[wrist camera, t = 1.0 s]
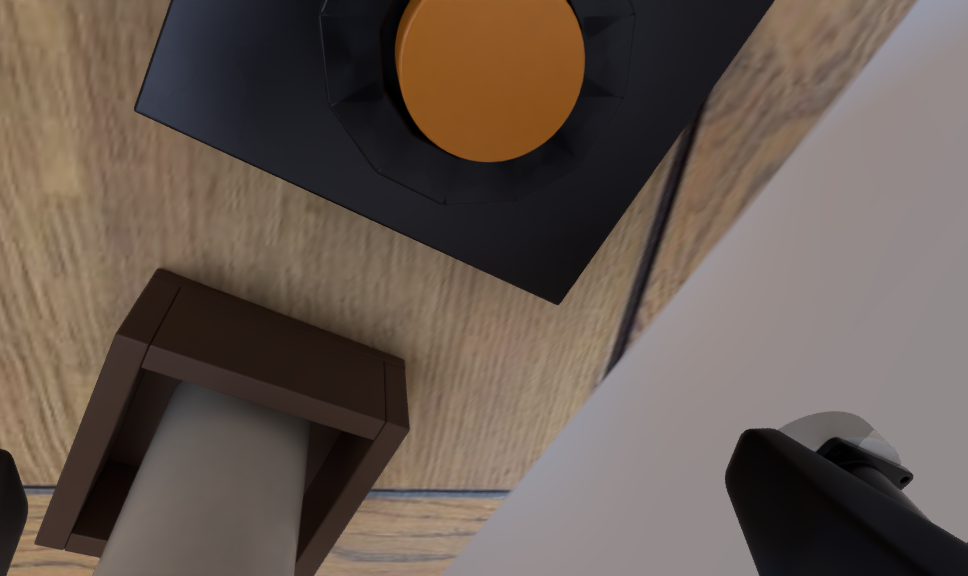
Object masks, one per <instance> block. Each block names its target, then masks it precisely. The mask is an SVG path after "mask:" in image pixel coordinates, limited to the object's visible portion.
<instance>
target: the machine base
mask: <svg viewBox="0 0 968 576" xmlns="http://www.w3.org/2000/svg"><path fill="white" fill-rule="evenodd" d="M409 1H410V0H171V2H170V4H169V7H168V10H167V13H166V16H165V19H164V22H163V25H162V28H161V31H160V34H159V36H158V39H157V42H156V45H155V48H154V51H153V54H152V57H151V60H150V63H149V66H148V68H147V71H146V74H145V77H144V80H143V83H142V86H141V89H140V92H139V95H138V98H137V100H136V103H135V106H134V111H135V112H137V113H139V114H141V115H143V116H146V117H148V118H150V119H152V120H154V121H156V122H159V123H161V124H163V125H165V126H167V127H170V128H172V129H174V130H176V131H178V132H180V133H183V134H185V135H187V136H189V137H191V138H194V139H196V140H198V141H200V142H202V143H204V144H207V145H209V146H211V147H213V148H215V149H217V150H220V151H222V152H224V153H226V154H228V155H231V156H233V157H235V158H237V159H239V160H241V161H244V162H246V163H248V164H250V165H252V166H255V167H257V168H259V169H261V170H263V171H265V172H268V173H270V174H272V175H274V176H276V177H279V178H281V179H283V180H285V181H287V182H289V183H292V184H294V185H296V186H298V187H300V188H303V189H305V190H307V191H309V192H311V193H313V194H316V195H318V196H320V197H322V198H324V199H327V200H329V201H331V202H333V203H335V204H337V205H340V206H342V207H344V208H346V209H348V210H351V211H353V212H355V213H357V214H359V215H361V216H364V217H366V218H368V219H370V220H372V221H375V222H377V223H379V224H381V225H383V226H385V227H388V228H390V229H392V230H394V231H396V232H399V233H401V234H403V235H405V236H407V237H409V238H412V239H414V240H416V241H418V242H420V243H423V244H425V245H427V246H429V247H431V248H433V249H436V250H438V251H440V252H442V253H444V254H447V255H449V256H451V257H453V258H455V259H457V260H460V261H462V262H464V263H466V264H468V265H471V266H473V267H475V268H477V269H479V270H481V271H484V272H486V273H488V274H490V275H492V276H495V277H497V278H499V279H501V280H503V281H505V282H508V283H510V284H512V285H514V286H516V287H519V288H521V289H523V290H525V291H527V292H529V293H532V294H534V295H536V296H538V297H540V298H543V299H545V300H547V301H549V302H551V303H553V304H556V305H559V304H560V303H561V302H562V300H563V299H564V297H565V296H566V294H567V293H568V292H569V290H570V289H571V287H572V286H573V285H574V283H575V282H576V280H577V279H578V278H579V276H580V275H581V273H582V272H583V270H584V269H585V268H586V266H587V265H588V263H589V262H590V261H591V259H592V258H593V256H594V255H595V254H596V252H597V251H598V249H599V248H600V246H601V245H602V244H603V242H604V241H605V239H606V238H607V237H608V235H609V234H610V232H611V231H612V230H613V228H614V227H615V225H616V224H617V222H618V221H619V220H620V218H621V217H622V215H623V214H624V213H625V211H626V210H627V208H628V207H629V206H630V204H631V203H632V201H633V200H634V198H635V197H636V196H637V194H638V193H639V191H640V190H641V189H642V187H643V186H644V184H645V183H646V182H647V180H648V179H649V177H650V176H651V174H652V173H653V172H654V170H655V169H656V167H657V166H658V165H659V163H660V162H661V160H662V159H663V157H664V156H665V155H666V153H667V152H668V150H669V149H670V148H671V146H672V145H673V143H674V142H675V141H676V139H677V138H678V136H679V135H680V133H681V132H682V131H683V129H684V128H685V126H686V125H687V124H688V122H689V121H690V119H691V118H692V117H693V115H694V114H695V112H696V111H697V109H698V108H699V107H700V105H701V104H702V102H703V101H704V100H705V98H706V97H707V95H708V94H709V93H710V91H711V90H712V88H713V87H714V85H715V84H716V83H717V81H718V80H719V78H720V77H721V76H722V74H723V73H724V71H725V70H726V69H727V67H728V66H729V64H730V63H731V61H732V60H733V59H734V57H735V56H736V54H737V53H738V52H739V50H740V49H741V47H742V46H743V45H744V43H745V42H746V40H747V39H748V37H749V36H750V35H751V33H752V32H753V30H754V29H755V28H756V26H757V25H758V23H759V22H760V20H761V19H762V18H763V16H764V15H765V13H766V12H767V11H768V9H769V8H770V6H771V5H772V4H773V2H774V1H775V0H566V1H567V2H568V4H569V5H570V7H571V8H572V10H573V12H574V14H575V16H576V18H577V21H578V24H579V27H580V29H581V33H582V38H583V42H584V51H585V69H584V76H583V82H582V86H581V89H580V93H579V96H578V98H577V100H576V103H575V105H574V107H573V109H572V111H571V113H570V114H569V116H568V118H567V119H566V120H565V122H564V123H563V125H562V126H561V127H560V128H559V129H558V130H557V132H556V133H555V134H554V135H553V136H552V137H550V138H549V139H548V140H547V141H546V142H545V143H543V144H542V145H540V146H539V147H537V148H536V149H534V150H532V151H530V152H528V153H526V154H524V155H522V156H519V157H516V158H513V159H509V160H505V161H498V162H478V161H472V160H467V159H464V158H460V157H457V156H455V155H453V154H451V153H448V152H447V151H445V150H443V149H442V148H440V147H438V146H437V145H436V144H435V143H433V142H432V141H431V140H430V139H428V137H427V136H426V135H425V134H424V133H423V132H422V131H421V130H420V129H419V127H418V126H417V125H416V123H415V122H414V120H413V119H412V117H411V115H410V113H409V111H408V109H407V107H406V104H405V102H404V99H403V96H402V92H401V88H400V84H399V79H398V75H397V70H396V62H395V42H396V35H397V30H398V27H399V23H400V20H401V17H402V15H403V13H404V10H405V8H406V7H407V5H408V3H409Z"/></svg>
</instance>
